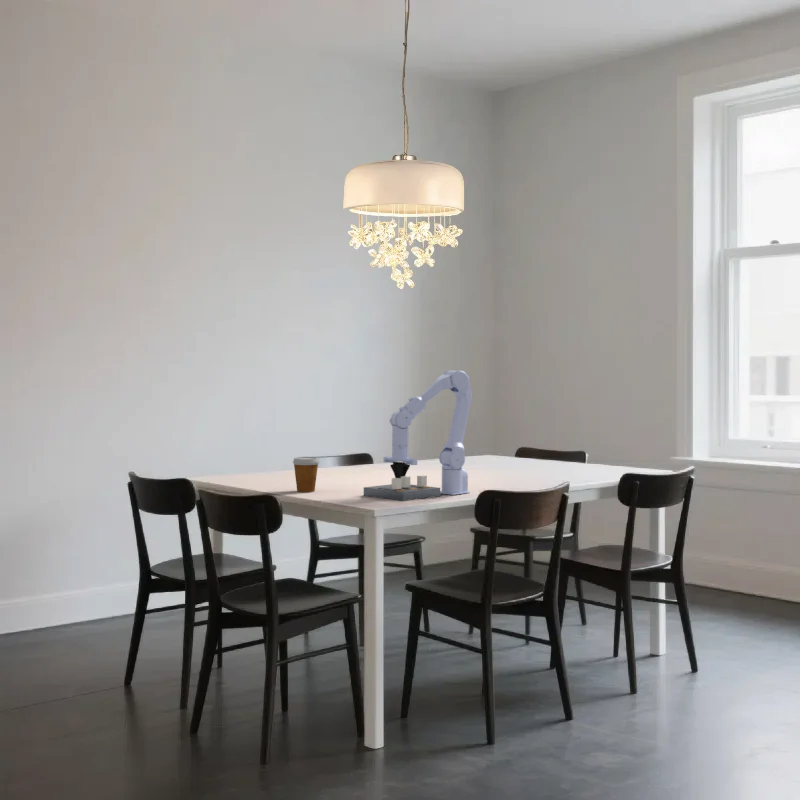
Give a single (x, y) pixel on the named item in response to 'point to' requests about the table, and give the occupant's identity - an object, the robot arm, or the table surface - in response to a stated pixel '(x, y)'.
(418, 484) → the breaker
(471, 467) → the table surface
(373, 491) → the panel
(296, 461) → the disposable coffee cup
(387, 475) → the table surface
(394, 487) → the block
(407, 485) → the block
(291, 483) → the table surface
